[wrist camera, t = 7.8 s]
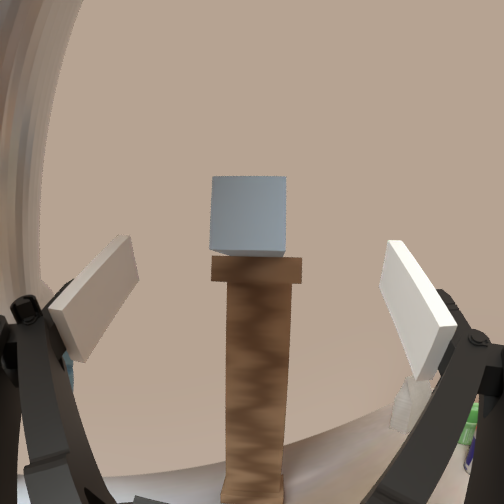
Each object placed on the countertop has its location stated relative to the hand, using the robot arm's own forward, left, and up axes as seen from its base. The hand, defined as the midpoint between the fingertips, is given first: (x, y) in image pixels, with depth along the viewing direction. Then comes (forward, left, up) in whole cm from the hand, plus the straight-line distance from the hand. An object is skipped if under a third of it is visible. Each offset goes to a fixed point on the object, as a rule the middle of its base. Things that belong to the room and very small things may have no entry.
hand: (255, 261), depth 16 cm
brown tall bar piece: (-1, +14, -27) cm, 31 cm away
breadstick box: (-1, +10, +1) cm, 10 cm away
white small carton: (+25, +33, -28) cm, 50 cm away
